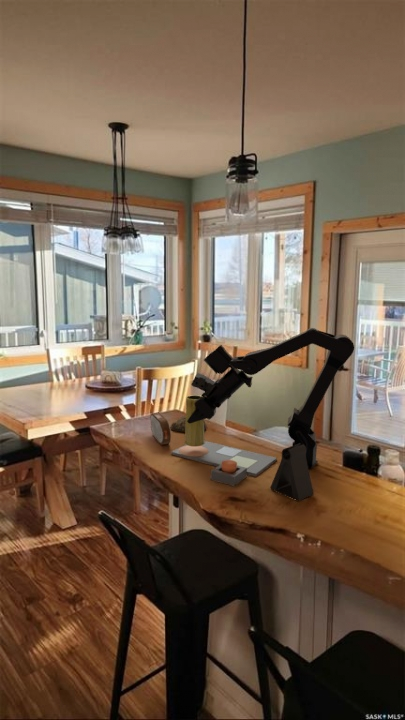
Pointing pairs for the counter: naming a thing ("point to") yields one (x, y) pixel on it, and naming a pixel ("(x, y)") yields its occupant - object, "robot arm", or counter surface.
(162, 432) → the tin
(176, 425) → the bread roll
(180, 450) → the picture board
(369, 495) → the counter surface
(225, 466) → the button
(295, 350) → the robot arm
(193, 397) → the vase
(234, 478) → the button housing
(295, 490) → the phone stand
